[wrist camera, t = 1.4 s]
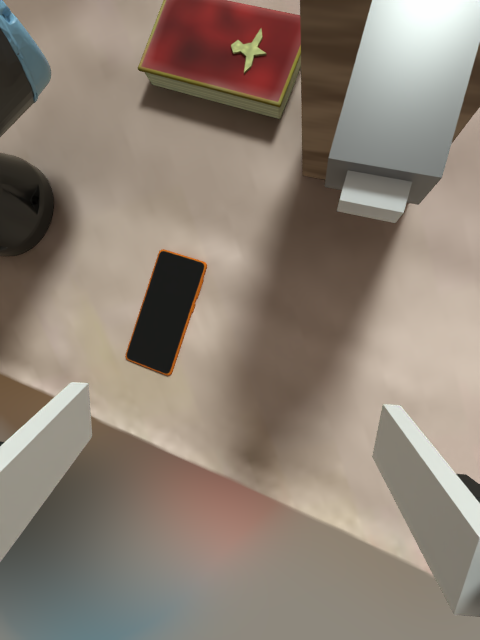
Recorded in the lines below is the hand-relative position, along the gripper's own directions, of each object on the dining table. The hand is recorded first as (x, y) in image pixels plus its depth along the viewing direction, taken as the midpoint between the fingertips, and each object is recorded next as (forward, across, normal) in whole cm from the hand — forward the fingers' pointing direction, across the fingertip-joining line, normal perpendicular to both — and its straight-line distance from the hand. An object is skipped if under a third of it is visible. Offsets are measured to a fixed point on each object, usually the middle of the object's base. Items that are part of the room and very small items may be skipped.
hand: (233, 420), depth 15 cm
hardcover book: (+44, -4, +30) cm, 53 cm away
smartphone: (+34, -11, -5) cm, 36 cm away
